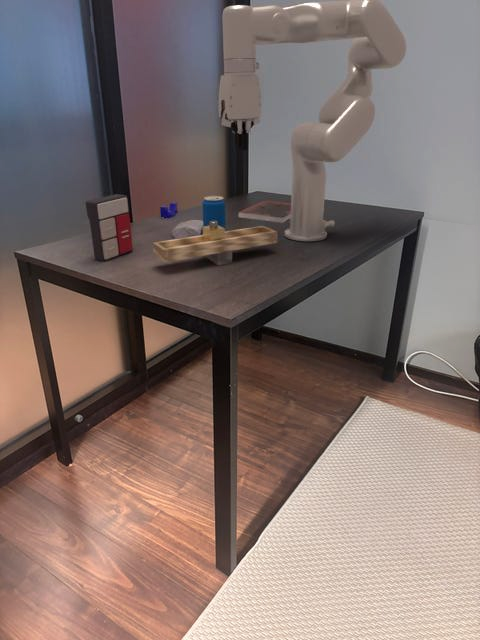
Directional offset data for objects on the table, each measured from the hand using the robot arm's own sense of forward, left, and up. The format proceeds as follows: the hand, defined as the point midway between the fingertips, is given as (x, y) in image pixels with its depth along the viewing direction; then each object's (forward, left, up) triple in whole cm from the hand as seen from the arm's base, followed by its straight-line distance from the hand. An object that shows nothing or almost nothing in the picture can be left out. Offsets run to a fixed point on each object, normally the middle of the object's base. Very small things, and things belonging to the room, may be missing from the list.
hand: (241, 149), depth 121 cm
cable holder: (+2, -45, -26) cm, 52 cm away
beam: (+10, +5, -26) cm, 28 cm away
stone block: (+6, -20, -26) cm, 34 cm away
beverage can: (+2, -12, -26) cm, 29 cm away
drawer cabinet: (+32, -12, -26) cm, 43 cm away
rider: (+11, +5, -21) cm, 25 cm away
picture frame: (-31, -30, -27) cm, 51 cm away
